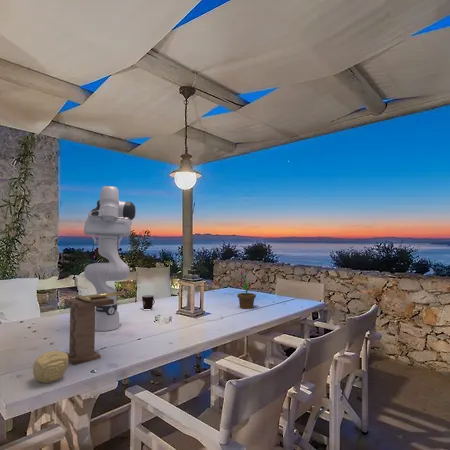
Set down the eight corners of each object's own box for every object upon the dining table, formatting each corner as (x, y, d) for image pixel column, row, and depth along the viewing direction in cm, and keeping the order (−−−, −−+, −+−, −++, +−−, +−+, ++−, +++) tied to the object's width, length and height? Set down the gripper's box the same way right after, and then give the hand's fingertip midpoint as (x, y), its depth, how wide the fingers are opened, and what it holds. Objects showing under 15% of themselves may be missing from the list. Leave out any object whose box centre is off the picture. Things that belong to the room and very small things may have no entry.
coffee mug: (140, 308, 256) (141, 295, 256) (152, 307, 259) (152, 294, 259) (143, 312, 245) (143, 298, 245) (155, 311, 248) (155, 297, 249)
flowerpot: (238, 305, 270) (238, 267, 271) (256, 306, 268) (256, 268, 269) (236, 309, 256) (236, 269, 257) (255, 310, 254) (255, 270, 255)
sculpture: (40, 389, 122) (40, 359, 122) (28, 379, 130) (28, 351, 130) (71, 379, 131) (72, 351, 131) (58, 370, 139) (59, 344, 139)
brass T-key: (74, 298, 158) (74, 294, 158) (117, 292, 174) (118, 289, 174) (87, 302, 148) (87, 298, 148) (132, 296, 164) (132, 292, 164)
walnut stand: (61, 356, 154) (62, 299, 155) (97, 348, 166) (98, 295, 167) (75, 366, 143) (76, 304, 144) (112, 356, 155) (113, 299, 156)
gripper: (130, 221, 163) (130, 247, 158) (85, 218, 156) (83, 246, 151) (132, 215, 158) (131, 242, 152) (85, 212, 151) (82, 240, 145)
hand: (107, 244), depth 151 cm, fingers open, 8 cm apart
